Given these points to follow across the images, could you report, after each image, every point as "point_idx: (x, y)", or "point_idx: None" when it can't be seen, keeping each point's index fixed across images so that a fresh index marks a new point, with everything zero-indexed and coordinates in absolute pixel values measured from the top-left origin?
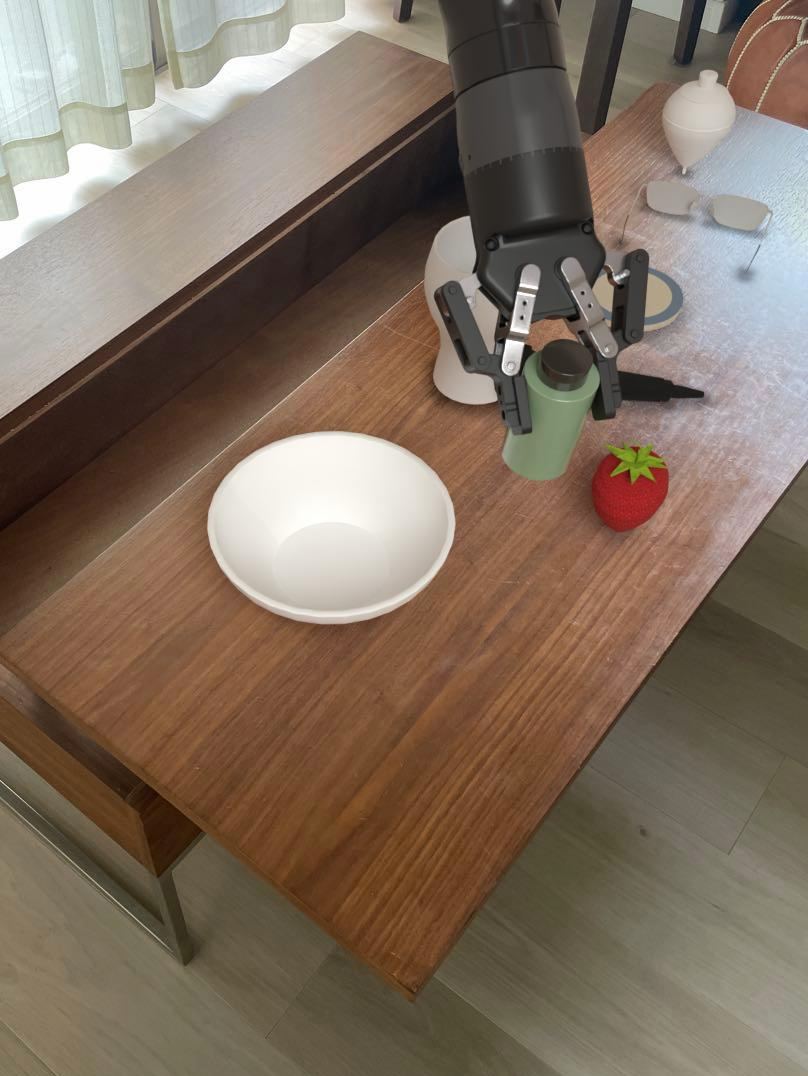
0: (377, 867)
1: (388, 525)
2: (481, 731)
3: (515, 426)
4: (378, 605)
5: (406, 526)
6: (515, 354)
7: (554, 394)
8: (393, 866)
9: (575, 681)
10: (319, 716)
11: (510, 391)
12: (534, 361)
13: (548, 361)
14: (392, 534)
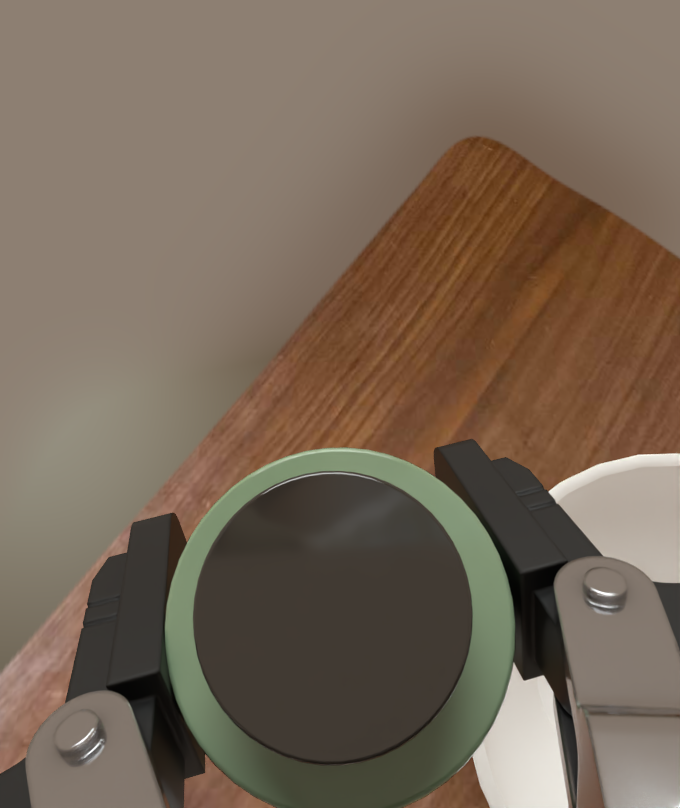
0: (512, 226)
1: (555, 755)
2: (392, 388)
3: (494, 460)
4: (588, 476)
5: (528, 738)
6: (604, 642)
7: (382, 477)
8: (494, 227)
9: (260, 466)
10: (603, 406)
11: (553, 538)
12: (465, 691)
13: (437, 557)
14: (544, 734)
